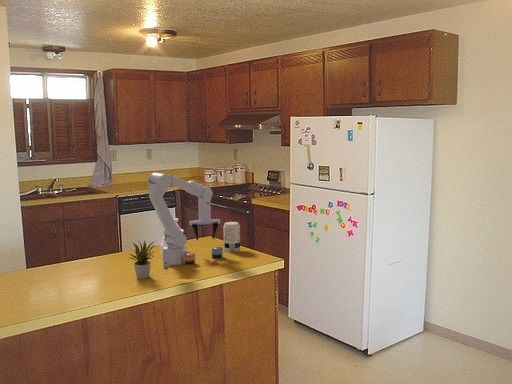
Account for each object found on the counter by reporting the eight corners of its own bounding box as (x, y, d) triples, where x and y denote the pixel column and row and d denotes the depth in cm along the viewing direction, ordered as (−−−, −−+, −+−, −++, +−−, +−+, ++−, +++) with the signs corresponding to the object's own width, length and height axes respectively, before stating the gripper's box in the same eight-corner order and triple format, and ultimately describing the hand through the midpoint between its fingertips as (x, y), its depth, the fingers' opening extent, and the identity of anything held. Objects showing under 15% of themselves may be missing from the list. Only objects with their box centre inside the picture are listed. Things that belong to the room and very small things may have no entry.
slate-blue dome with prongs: (211, 261, 231) (211, 249, 230) (212, 258, 235) (212, 246, 235) (222, 261, 230) (221, 249, 229) (223, 258, 235) (222, 246, 234)
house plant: (168, 272, 215) (167, 236, 212) (153, 283, 202) (152, 244, 199) (139, 270, 219) (137, 234, 216) (122, 280, 205) (120, 242, 203)
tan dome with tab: (183, 268, 221) (183, 255, 220) (185, 265, 226) (185, 252, 225) (194, 268, 221) (194, 255, 220) (196, 265, 226) (195, 252, 225)
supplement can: (221, 251, 249) (221, 222, 246) (236, 249, 252) (236, 220, 250) (227, 255, 241) (226, 225, 239) (242, 253, 245) (242, 223, 242)
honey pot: (192, 252, 247) (191, 217, 245) (175, 258, 237) (173, 222, 234) (173, 249, 254) (171, 214, 252) (155, 254, 243) (154, 219, 241)
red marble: (211, 267, 222) (211, 261, 221) (212, 265, 225) (211, 259, 224) (217, 267, 222) (217, 261, 221) (218, 265, 224) (218, 259, 224)
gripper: (190, 213, 228) (191, 242, 230) (221, 211, 231) (221, 240, 233) (188, 210, 235) (189, 238, 237) (218, 209, 238) (219, 236, 240)
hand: (205, 239), depth 236 cm, fingers open, 7 cm apart
